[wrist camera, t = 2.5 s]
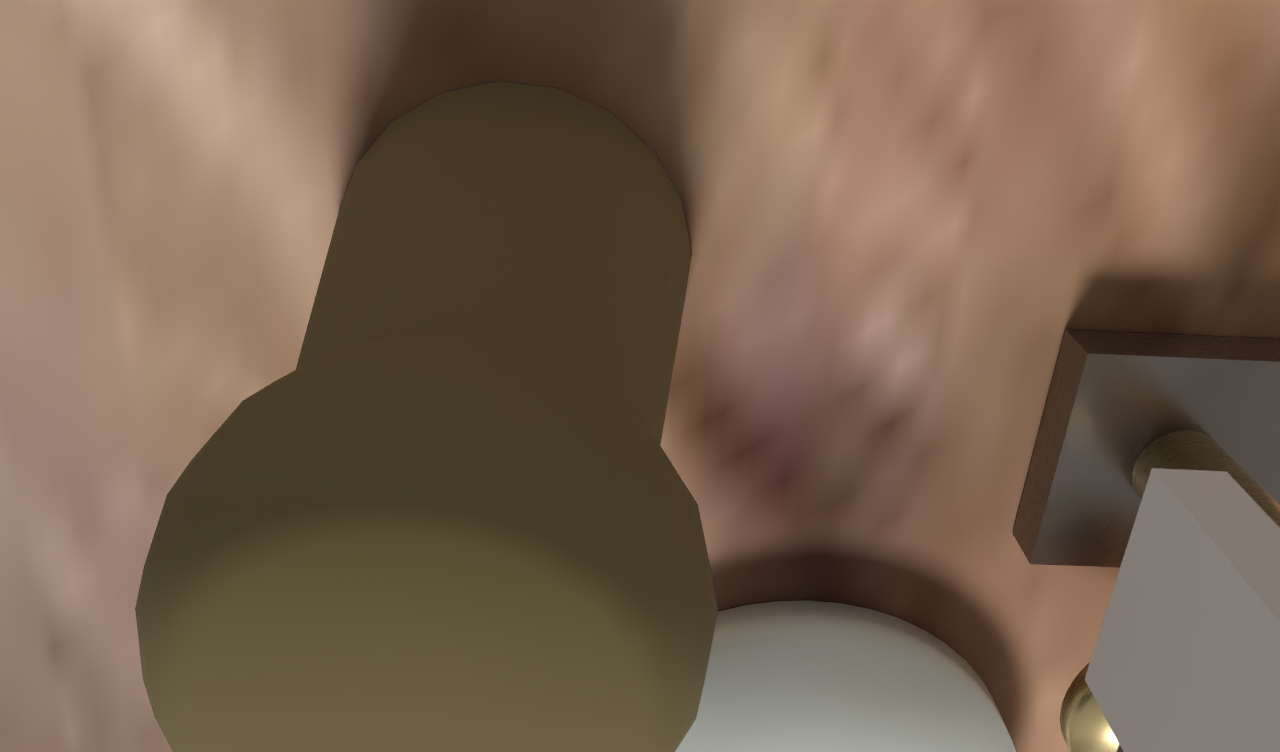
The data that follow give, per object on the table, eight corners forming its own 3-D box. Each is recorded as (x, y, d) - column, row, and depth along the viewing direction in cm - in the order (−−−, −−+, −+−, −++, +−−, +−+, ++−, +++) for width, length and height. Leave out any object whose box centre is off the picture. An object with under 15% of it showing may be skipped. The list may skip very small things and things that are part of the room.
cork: (270, 158, 18) (-162, 571, 8) (618, 24, 17) (633, 293, 7) (428, 457, 20) (257, 1052, 10) (737, 353, 19) (870, 889, 9)
